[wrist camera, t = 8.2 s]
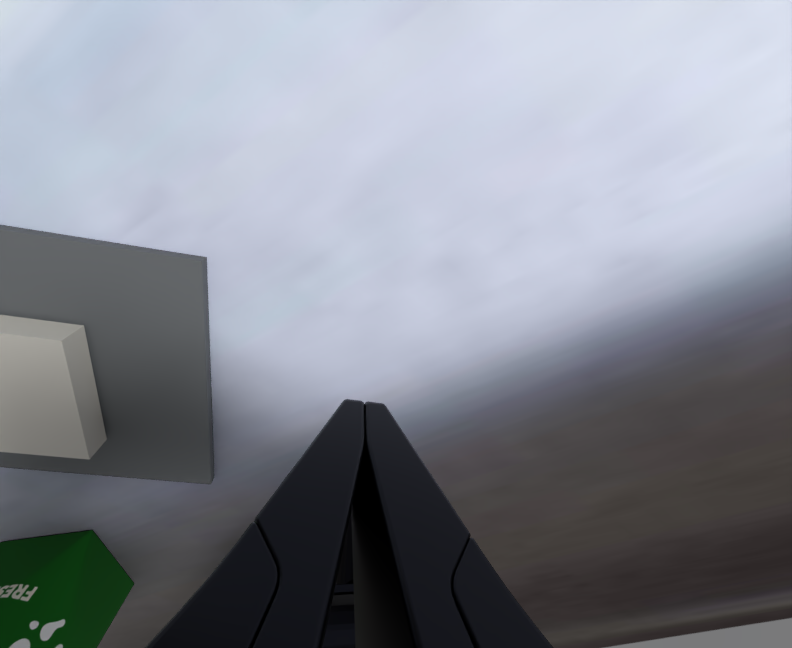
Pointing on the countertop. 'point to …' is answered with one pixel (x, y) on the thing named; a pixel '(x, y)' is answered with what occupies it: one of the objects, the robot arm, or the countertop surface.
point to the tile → (47, 390)
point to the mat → (124, 347)
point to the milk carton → (59, 591)
